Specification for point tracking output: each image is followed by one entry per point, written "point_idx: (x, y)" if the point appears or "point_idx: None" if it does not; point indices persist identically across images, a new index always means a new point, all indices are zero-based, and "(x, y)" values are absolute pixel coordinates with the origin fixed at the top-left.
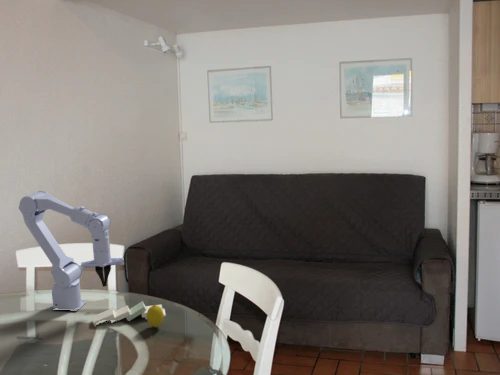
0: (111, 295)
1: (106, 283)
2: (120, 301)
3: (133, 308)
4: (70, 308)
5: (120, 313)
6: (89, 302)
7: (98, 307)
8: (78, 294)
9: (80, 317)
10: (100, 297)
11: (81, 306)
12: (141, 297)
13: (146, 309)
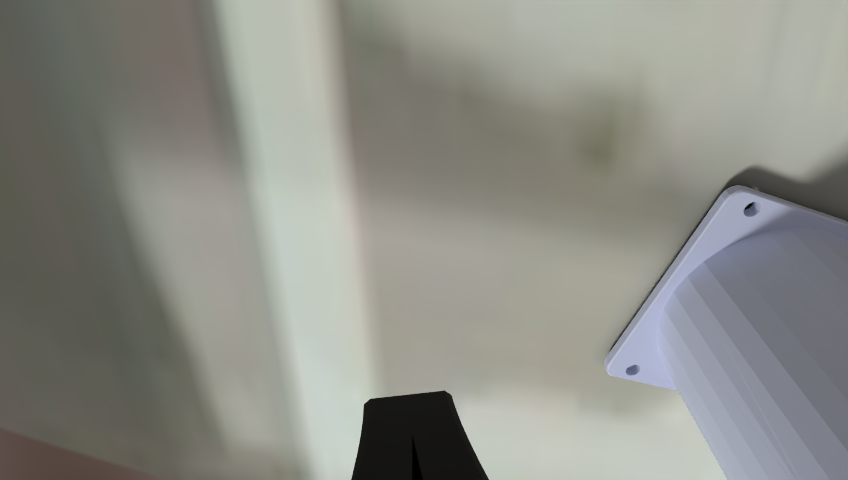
0: None
1: (364, 445)
2: (242, 339)
3: None
4: (797, 235)
5: None
6: (569, 362)
7: (481, 246)
8: (762, 385)
9: (711, 25)
10: None
11: (664, 280)
12: (10, 390)
13: None
